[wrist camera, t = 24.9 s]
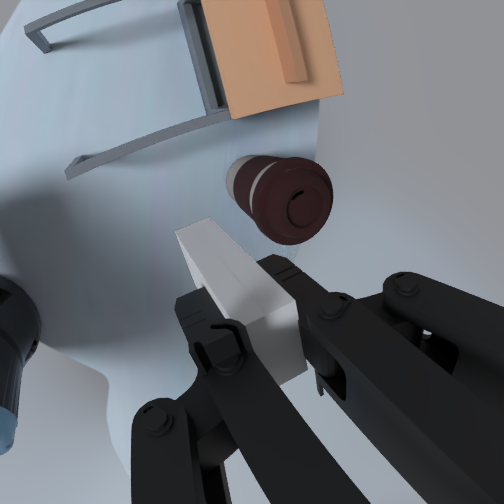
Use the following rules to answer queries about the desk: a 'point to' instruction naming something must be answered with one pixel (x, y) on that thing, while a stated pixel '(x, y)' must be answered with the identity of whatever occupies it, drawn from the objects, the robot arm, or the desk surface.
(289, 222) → the coffee cup
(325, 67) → the lid
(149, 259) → the desk surface
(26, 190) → the desk surface
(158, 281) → the desk surface
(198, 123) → the housing
